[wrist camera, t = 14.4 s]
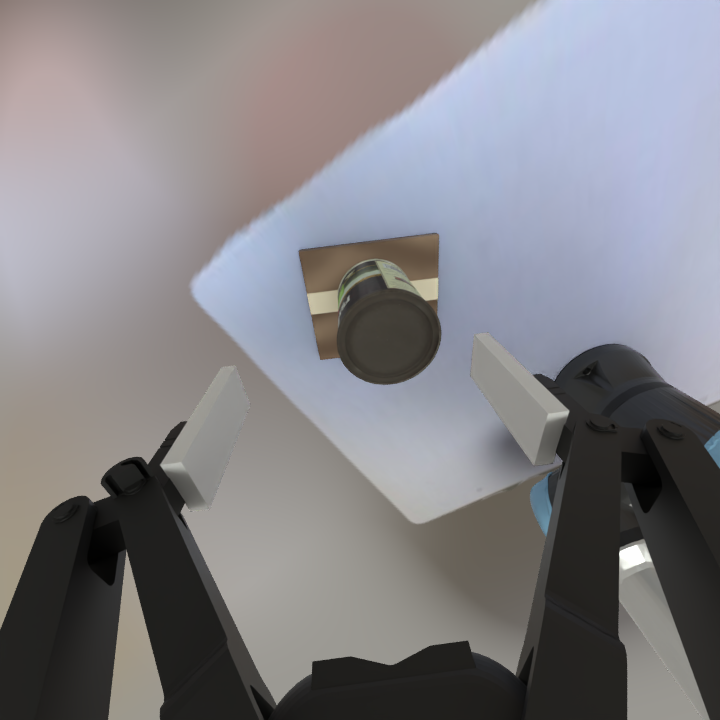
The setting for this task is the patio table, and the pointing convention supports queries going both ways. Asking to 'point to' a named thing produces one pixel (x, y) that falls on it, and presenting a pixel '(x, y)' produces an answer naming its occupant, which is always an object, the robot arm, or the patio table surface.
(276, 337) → the patio table surface
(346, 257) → the board
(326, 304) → the strip
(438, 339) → the coffee can
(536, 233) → the patio table surface
